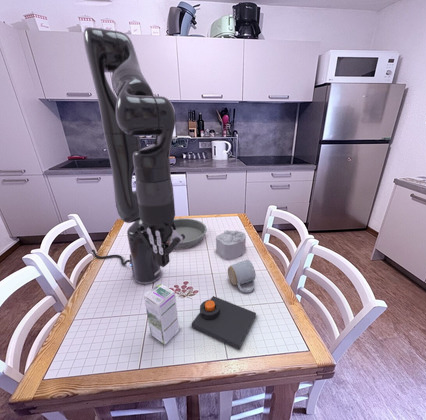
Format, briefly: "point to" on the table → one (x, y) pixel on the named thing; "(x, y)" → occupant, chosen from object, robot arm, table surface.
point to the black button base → (225, 322)
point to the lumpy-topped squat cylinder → (230, 244)
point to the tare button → (209, 306)
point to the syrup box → (162, 313)
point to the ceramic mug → (242, 274)
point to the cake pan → (190, 232)
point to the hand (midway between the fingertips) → (163, 264)
